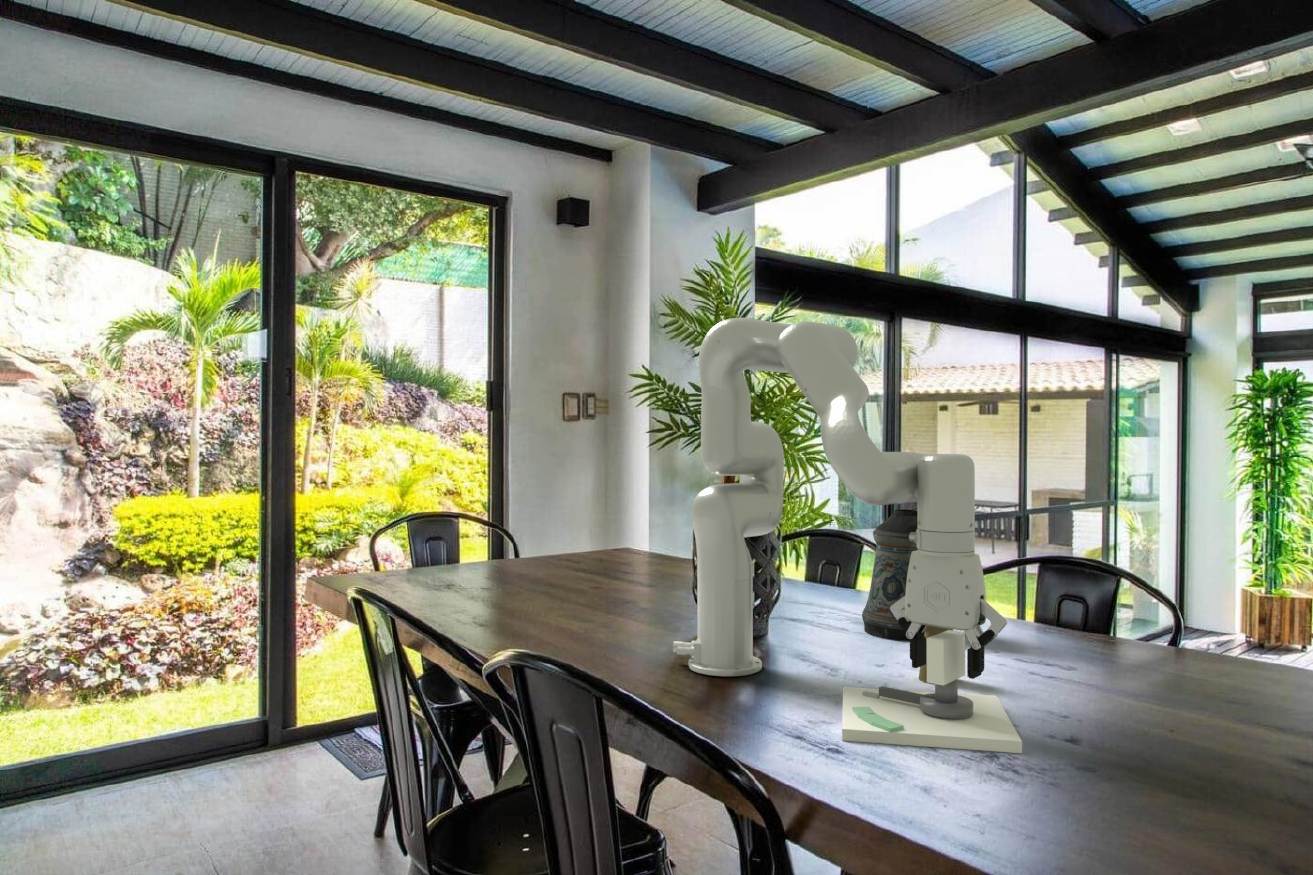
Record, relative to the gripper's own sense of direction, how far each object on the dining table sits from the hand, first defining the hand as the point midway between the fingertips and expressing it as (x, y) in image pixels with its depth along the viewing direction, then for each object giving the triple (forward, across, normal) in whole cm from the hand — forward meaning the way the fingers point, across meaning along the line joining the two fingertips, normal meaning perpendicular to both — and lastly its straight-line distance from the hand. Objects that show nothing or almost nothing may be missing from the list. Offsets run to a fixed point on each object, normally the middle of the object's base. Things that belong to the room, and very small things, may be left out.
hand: (946, 670), depth 121 cm
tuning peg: (+6, -3, 0) cm, 6 cm away
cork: (+8, -11, +20) cm, 24 cm away
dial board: (+7, -3, -2) cm, 8 cm away
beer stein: (+8, -30, +50) cm, 58 cm away
